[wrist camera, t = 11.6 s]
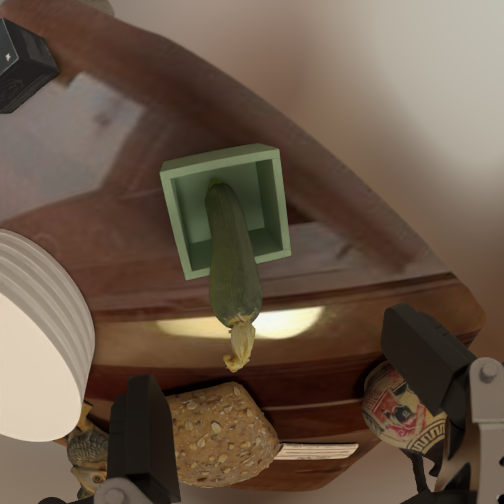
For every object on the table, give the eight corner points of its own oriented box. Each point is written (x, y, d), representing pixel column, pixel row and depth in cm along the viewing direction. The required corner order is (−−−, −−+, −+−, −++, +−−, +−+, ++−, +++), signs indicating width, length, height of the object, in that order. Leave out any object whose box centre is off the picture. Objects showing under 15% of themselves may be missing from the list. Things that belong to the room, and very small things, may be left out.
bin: (163, 161, 32) (159, 172, 26) (258, 142, 34) (279, 148, 27) (183, 249, 37) (185, 280, 30) (270, 230, 38) (291, 255, 32)
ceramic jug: (390, 334, 52) (493, 454, 25) (422, 357, 58) (505, 452, 31) (327, 398, 55) (397, 526, 28) (368, 411, 61) (432, 512, 34)
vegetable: (246, 180, 34) (290, 361, 22) (225, 206, 37) (257, 379, 25) (210, 166, 32) (239, 360, 20) (191, 194, 34) (209, 378, 22)
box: (44, 37, 23) (2, 14, 13) (61, 73, 25) (19, 58, 16) (-6, 79, 23) (-56, 74, 13) (10, 115, 25) (-41, 118, 16)
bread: (280, 432, 56) (298, 480, 46) (185, 462, 55) (192, 509, 44) (240, 358, 45) (260, 421, 35) (119, 399, 44) (114, 459, 33)
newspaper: (356, 442, 67) (359, 447, 65) (340, 457, 69) (342, 462, 67) (282, 441, 58) (285, 447, 56) (266, 457, 60) (268, 463, 58)
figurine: (143, 420, 47) (145, 494, 34) (119, 454, 50) (119, 516, 37) (67, 392, 42) (51, 467, 28) (54, 431, 45) (43, 494, 31)
